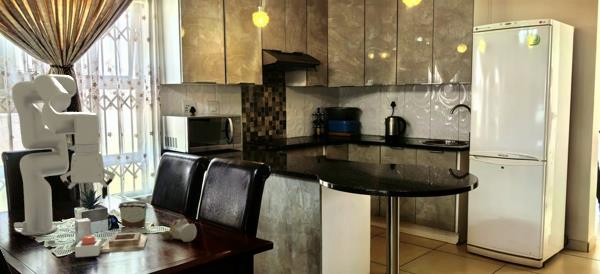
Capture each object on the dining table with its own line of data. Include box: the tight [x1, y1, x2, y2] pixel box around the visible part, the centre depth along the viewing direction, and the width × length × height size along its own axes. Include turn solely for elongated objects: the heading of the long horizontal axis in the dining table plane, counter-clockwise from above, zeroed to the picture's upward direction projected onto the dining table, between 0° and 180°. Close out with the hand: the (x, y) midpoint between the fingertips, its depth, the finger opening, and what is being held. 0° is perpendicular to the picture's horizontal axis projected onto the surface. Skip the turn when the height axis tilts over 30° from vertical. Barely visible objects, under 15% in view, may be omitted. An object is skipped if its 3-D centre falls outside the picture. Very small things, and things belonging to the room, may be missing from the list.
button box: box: [74, 239, 103, 258], centre depth 161 cm, size 7×7×4 cm
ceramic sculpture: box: [159, 217, 198, 243], centre depth 178 cm, size 11×9×15 cm
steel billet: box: [74, 217, 92, 244], centre depth 175 cm, size 4×4×8 cm
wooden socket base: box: [100, 232, 148, 253], centre depth 170 cm, size 14×14×3 cm
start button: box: [82, 235, 96, 245], centre depth 161 cm, size 4×4×2 cm
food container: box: [118, 200, 149, 228], centre depth 196 cm, size 12×6×10 cm, turn 84°
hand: (89, 198), depth 160 cm, fingers open, 9 cm apart
